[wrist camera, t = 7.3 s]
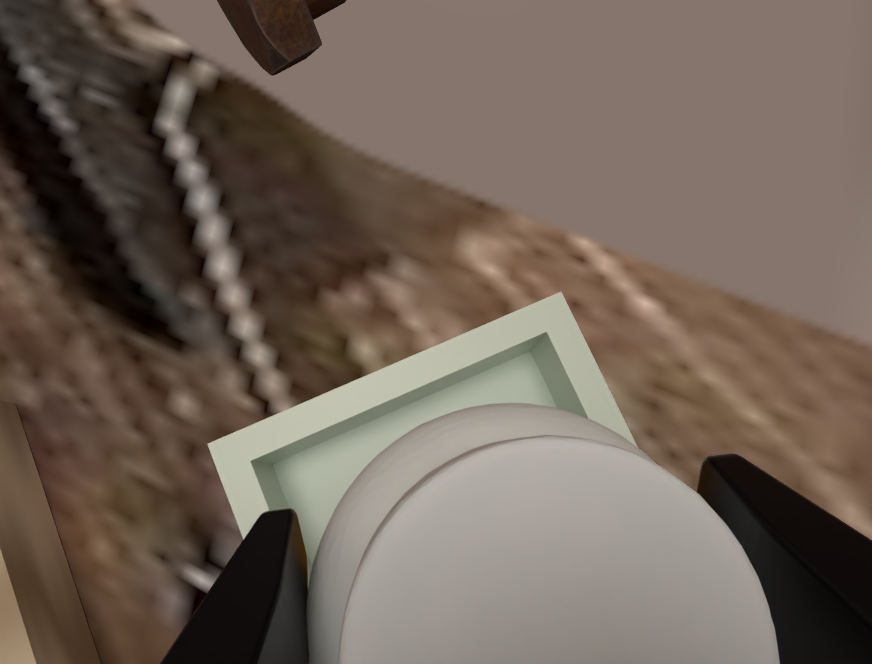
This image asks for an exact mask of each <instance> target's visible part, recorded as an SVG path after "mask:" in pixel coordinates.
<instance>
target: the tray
mask: <svg viewBox="0 0 872 664" xmlns="http://www.w3.org/2000/svg"><path fill="white" fill-rule="evenodd" d="M499 403H528V404H535V405H542V406H549V407H553V408H558V409H562V410H565V411H569V412H572V413H575V414H578V415H580V416H583V417H585V418H588V419H591V420H593V421H595V422H597V423H599V424H601V425H603V426H605V427H607V428H609V429H610V430H612V431H614V432H616V433H618V434H619V435H621V436H623V437H624V438H626V439H627V440H628V441H630V442H631V443H632V444H634V445H635V446H636V447H637V445H636V443H635V441H634V439H633V437H632V435H631V433H630V431H629V428H628V426H627V424H626V422H625V420H624V418H623V416H622V414H621V412H620V410H619V408H618V406H617V404H616V402H615V400H614V398H613V396H612V394H611V392H610V390H609V388H608V386H607V384H606V382H605V380H604V378H603V376H602V374H601V372H600V370H599V368H598V366H597V364H596V362H595V359H594V357H593V355H592V353H591V351H590V349H589V347H588V345H587V343H586V341H585V339H584V337H583V335H582V333H581V331H580V329H579V327H578V325H577V323H576V321H575V319H574V317H573V315H572V313H571V311H570V309H569V307H568V305H567V303H566V301H565V299H564V297H563V295H562V293H561V292H559V293H557V294H554V295H552V296H550V297H547V298H545V299H543V300H541V301H538V302H536V303H534V304H531V305H529V306H527V307H524V308H522V309H520V310H517V311H515V312H513V313H510V314H508V315H506V316H503V317H501V318H499V319H496V320H494V321H492V322H489V323H487V324H485V325H482V326H480V327H478V328H476V329H473V330H471V331H469V332H466V333H464V334H462V335H459V336H457V337H455V338H452V339H450V340H448V341H445V342H443V343H441V344H438V345H436V346H434V347H431V348H429V349H427V350H424V351H422V352H420V353H417V354H415V355H413V356H411V357H408V358H406V359H404V360H401V361H399V362H397V363H394V364H392V365H390V366H387V367H385V368H383V369H380V370H378V371H376V372H373V373H371V374H369V375H366V376H364V377H362V378H359V379H357V380H355V381H352V382H350V383H348V384H345V385H343V386H341V387H339V388H336V389H334V390H332V391H329V392H327V393H325V394H322V395H320V396H318V397H315V398H313V399H311V400H308V401H306V402H304V403H301V404H299V405H297V406H294V407H292V408H290V409H287V410H285V411H283V412H280V413H278V414H276V415H274V416H271V417H269V418H267V419H264V420H262V421H260V422H257V423H255V424H253V425H250V426H248V427H246V428H243V429H241V430H239V431H236V432H234V433H232V434H229V435H227V436H225V437H222V438H220V439H218V440H215V441H213V442H211V443H209V444H208V447H209V450H210V452H211V455H212V458H213V460H214V463H215V465H216V468H217V471H218V473H219V476H220V479H221V481H222V484H223V487H224V489H225V492H226V495H227V497H228V500H229V503H230V505H231V508H232V511H233V513H234V516H235V518H236V521H237V524H238V526H239V529H240V532H241V534H242V537H243V540H244V538H245V537H246V535H247V534H248V532H249V531H250V529H251V528H252V526H253V525H254V523H255V522H256V520H257V519H258V517H259V516H260V515H261V514H262V513H263V512H266V511H272V510H280V509H288V508H291V509H293V510H295V512H296V514H297V516H298V520H299V525H300V529H301V533H302V537H303V541H304V546H305V550H306V555H307V565H308V588H309V581H310V576H311V571H312V567H313V562H314V559H315V556H316V553H317V549H318V546H319V543H320V541H321V538H322V536H323V534H324V531H325V529H326V527H327V525H328V523H329V520H330V518H331V516H332V514H333V512H334V510H335V508H336V506H337V505H338V503H339V502H340V500H341V499H342V497H343V495H344V494H345V492H346V491H347V489H348V488H349V487H350V486H351V484H352V483H353V482H354V480H355V479H356V478H357V476H358V475H359V474H360V473H361V472H362V470H363V469H364V468H365V467H366V466H367V465H368V464H369V463H370V462H371V461H372V460H373V459H374V458H375V457H376V456H377V455H378V454H379V453H380V452H382V451H383V450H384V449H385V448H387V447H388V446H389V445H391V444H392V443H393V442H394V441H396V440H397V439H399V438H400V437H402V436H403V435H405V434H406V433H408V432H409V431H411V430H412V429H414V428H415V427H417V426H419V425H421V424H423V423H425V422H428V421H431V420H433V419H435V418H438V417H440V416H443V415H446V414H449V413H451V412H455V411H458V410H462V409H465V408H469V407H475V406H481V405H487V404H499Z"/></svg>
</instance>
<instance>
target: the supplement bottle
mask: <svg viewBox="0 0 872 664" xmlns="http://www.w3.org/2000/svg"><path fill="white" fill-rule="evenodd" d="M306 619H307V639H308V651H309V664H780V661H779V653H778V646H777V639H776V633H775V627H774V624H773V621H772V618H771V614H770V609H769V605H768V602H767V600H766V597H765V594H764V591H763V588H762V586H761V583H760V580H759V578H758V576H757V574H756V572H755V570H754V568H753V566H752V565H751V563H750V561H749V559H748V557H747V555H746V553H745V551H744V550H743V548H742V546H741V544H740V543H739V542H738V540H737V539H736V537H735V536H734V534H733V533H732V532H731V530H730V529H729V527H728V526H727V525H726V523H725V522H724V521H723V520H722V519H721V518H720V517H719V516H718V515H717V513H716V512H715V511H714V510H713V509H712V508H711V507H710V506H709V505H708V504H707V502H706V501H705V500H704V499H703V498H702V497H701V496H700V495H699V494H698V493H697V492H695V491H694V490H693V489H691V488H690V487H689V486H687V485H686V484H685V483H683V482H682V481H681V480H679V479H678V478H677V477H675V476H674V475H673V474H671V473H670V472H668V471H667V470H665V469H664V468H662V467H661V466H659V465H657V464H656V463H655V462H654V461H653V460H652V459H651V458H650V457H649V456H648V455H646V454H645V453H644V452H643V451H642V450H641V449H639V448H638V447H636V446H635V445H634V444H632V443H631V442H630V441H628V440H627V439H626V438H624V437H623V436H621V435H619V434H618V433H616V432H614V431H612V430H610V429H609V428H607V427H605V426H603V425H601V424H599V423H597V422H595V421H593V420H591V419H588V418H585V417H583V416H580V415H578V414H575V413H572V412H569V411H565V410H562V409H558V408H553V407H549V406H542V405H535V404H528V403H499V404H487V405H481V406H475V407H469V408H465V409H462V410H458V411H455V412H451V413H449V414H446V415H443V416H440V417H438V418H435V419H433V420H431V421H428V422H425V423H423V424H421V425H419V426H417V427H415V428H414V429H412V430H411V431H409V432H408V433H406V434H405V435H403V436H402V437H400V438H399V439H397V440H396V441H394V442H393V443H392V444H391V445H389V446H388V447H387V448H385V449H384V450H383V451H382V452H380V453H379V454H378V455H377V456H376V457H375V458H374V459H373V460H372V461H371V462H370V463H369V464H368V465H367V466H366V467H365V468H364V469H363V470H362V472H361V473H360V474H359V475H358V476H357V478H356V479H355V480H354V482H353V483H352V484H351V486H350V487H349V488H348V489H347V491H346V492H345V494H344V495H343V497H342V499H341V500H340V502H339V503H338V505H337V506H336V508H335V510H334V512H333V514H332V516H331V518H330V520H329V523H328V525H327V527H326V529H325V531H324V534H323V536H322V538H321V541H320V543H319V546H318V549H317V553H316V556H315V559H314V562H313V567H312V571H311V576H310V581H309V588H308V595H307V609H306Z"/></svg>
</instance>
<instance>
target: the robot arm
mask: <svg viewBox="0 0 872 664" xmlns="http://www.w3.org/2000/svg"><path fill="white" fill-rule="evenodd" d="M697 493H698V494H699V495H700V496H701V497H702V498H703V499H704V500H705V501H706V502H707V504H708V505H709V506H710V507H711V508H712V509H713V510H714V511H715V512H716V513H717V515H718V516H719V517H720V518H721V519H722V520H723V521H724V522H725V523H726V525H727V526H728V527H729V529H730V530H731V532H732V533H733V534H734V536H735V537H736V539H737V540H738V542H739V543H740V544H741V546H742V548H743V550H744V551H745V553H746V555H747V557H748V559H749V561H750V563H751V565H752V566H753V568H754V570H755V572H756V574H757V576H758V578H759V580H760V583H761V586H762V588H763V591H764V594H765V597H766V600H767V602H768V605H769V609H770V614H771V618H772V621H773V624H774V627H775V633H776V639H777V646H778V653H779V661H780V664H872V540H870V539H869V538H867V537H866V536H864V535H863V534H861V533H860V532H858V531H856V530H855V529H853V528H852V527H850V526H849V525H847V524H846V523H844V522H842V521H841V520H839V519H838V518H836V517H835V516H833V515H832V514H830V513H828V512H827V511H825V510H824V509H822V508H821V507H819V506H817V505H816V504H814V503H813V502H811V501H810V500H808V499H807V498H805V497H803V496H802V495H800V494H799V493H797V492H796V491H794V490H793V489H791V488H789V487H788V486H786V485H785V484H783V483H782V482H780V481H779V480H777V479H775V478H774V477H772V476H771V475H769V474H768V473H766V472H765V471H763V470H761V469H760V468H758V467H757V466H755V465H754V464H752V463H751V462H749V461H747V460H746V459H744V458H743V457H741V456H739V455H736V454H725V455H717V456H709V457H707V458H705V459H704V461H703V462H702V465H701V470H700V476H699V482H698V488H697ZM307 595H308V565H307V555H306V550H305V546H304V541H303V537H302V533H301V529H300V525H299V520H298V516H297V514H296V512H295V510H293V509H291V508H288V509H280V510H272V511H266V512H263V513H262V514H261V515H260V516H259V517H258V519H257V520H256V522H255V523H254V525H253V526H252V528H251V529H250V531H249V532H248V534H247V535H246V537H245V538H244V540H243V541H242V543H241V544H240V546H239V547H238V549H237V550H236V552H235V553H234V555H233V556H232V557H231V559H230V560H229V562H228V563H227V565H226V566H225V568H224V569H223V571H222V572H221V574H220V575H219V577H218V578H217V580H216V581H215V583H214V584H213V586H212V587H211V589H210V590H209V592H208V593H207V595H206V596H205V598H204V599H203V601H202V602H201V603H200V605H199V606H198V608H197V609H196V611H195V612H194V614H193V615H192V617H191V618H190V620H189V621H188V623H187V624H186V626H185V627H184V629H183V630H182V632H181V633H180V635H179V636H178V638H177V639H176V641H175V642H174V644H173V645H172V647H171V648H170V649H169V651H168V652H167V654H166V655H165V657H164V658H163V660H162V661H161V663H160V664H309V651H308V639H307V619H306V609H307Z"/></svg>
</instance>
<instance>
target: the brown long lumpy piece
mask: <svg viewBox="0 0 872 664" xmlns="http://www.w3.org/2000/svg"><path fill="white" fill-rule="evenodd" d="M217 1H218V3H219V5H220V6H221V8H222V10H223V12H224V13H225V15H226V17H227V19H228V20H229V22H230V24H231V25H232V27H233V29H234V30H235V32H236V34H237V35H238V37H239V39H240V41H241V42H242V44H243V45H244V47H245V48H246V49H247V50H248V52H249V53H250V54H251V55H252V56H253V58H254V59H255V60H256V61H257V62H258V63H259V65H260V66H261V67H262V68H263V69H264V70H265V71H267V72H268V73H269V74H270V75H276V74H278V73H280V72H281V71H284V70H286V69H287V68H289V67H291V66H293V65H295V64H297V63H299V62H301V61H302V60H304V59H306V58H307V57H308V56H309V55H311V54H312V53H313V52H314V51H315V50H316V49H318V48H319V47H320V46H321V45H322V42H321V40H320V37H319V34H318V32H317V29H316V27H315V24H314V21H313V20H314V19H316V18H318V17H319V16H321V15H323V14H325V13H327V12H328V11H330V10H332V9H334V8H336V7H337V6H339V5H341V4H343V3H345V1H346V0H217Z"/></svg>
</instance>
